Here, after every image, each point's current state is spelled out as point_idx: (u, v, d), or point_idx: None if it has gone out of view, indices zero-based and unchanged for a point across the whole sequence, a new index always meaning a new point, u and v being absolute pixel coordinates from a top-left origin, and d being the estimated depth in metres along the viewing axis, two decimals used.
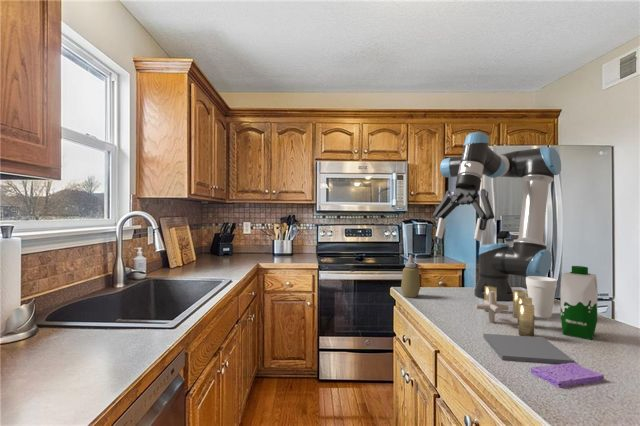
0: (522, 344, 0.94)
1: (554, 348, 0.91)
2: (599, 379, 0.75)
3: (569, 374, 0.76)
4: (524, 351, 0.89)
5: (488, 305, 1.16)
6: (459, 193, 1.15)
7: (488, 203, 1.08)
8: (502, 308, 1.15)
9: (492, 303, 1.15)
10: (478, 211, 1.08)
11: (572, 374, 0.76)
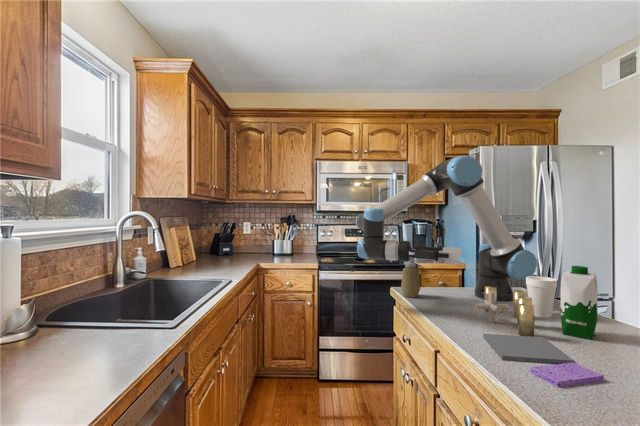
0: (522, 344, 0.94)
1: (554, 348, 0.91)
2: (599, 379, 0.75)
3: (568, 374, 0.76)
4: (524, 351, 0.89)
5: (488, 305, 1.16)
6: None
7: (421, 254, 1.18)
8: (502, 308, 1.15)
9: (492, 303, 1.15)
10: None
11: (572, 374, 0.76)
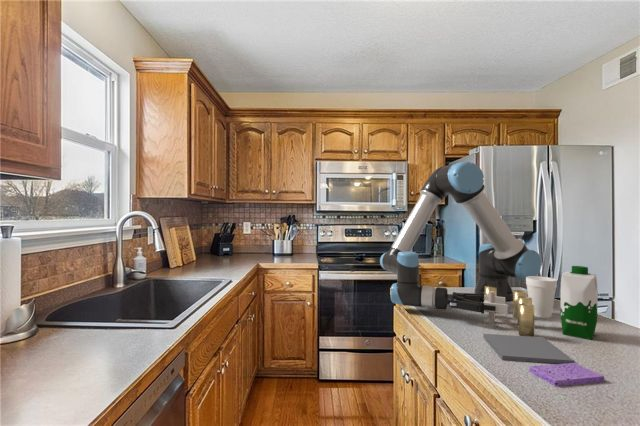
0: (522, 344, 0.94)
1: (554, 348, 0.91)
2: (599, 380, 0.75)
3: (568, 373, 0.76)
4: (524, 351, 0.89)
5: None
6: None
7: (465, 306, 1.13)
8: None
9: None
10: None
11: (571, 374, 0.76)
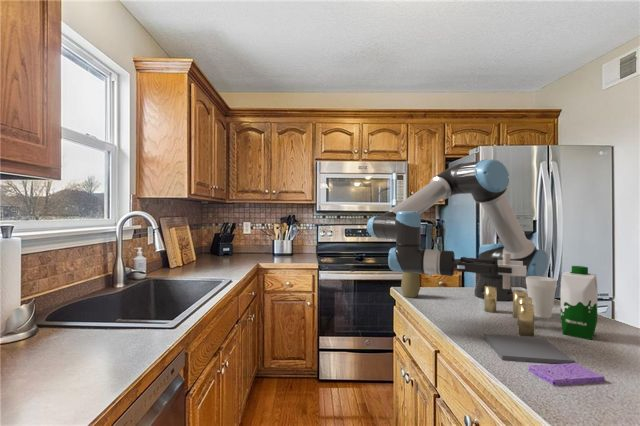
0: (522, 344, 0.94)
1: (554, 348, 0.91)
2: (599, 380, 0.75)
3: (567, 373, 0.76)
4: (524, 351, 0.89)
5: None
6: None
7: (475, 268, 0.95)
8: None
9: None
10: None
11: (570, 373, 0.76)
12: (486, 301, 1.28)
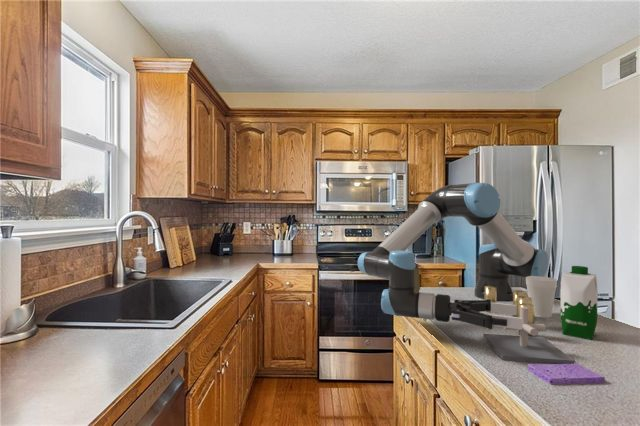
0: None
1: (554, 348, 0.91)
2: (599, 380, 0.75)
3: (566, 373, 0.76)
4: (524, 351, 0.89)
5: None
6: None
7: (469, 319, 0.90)
8: (538, 329, 0.92)
9: (525, 322, 0.92)
10: None
11: (569, 373, 0.76)
12: None
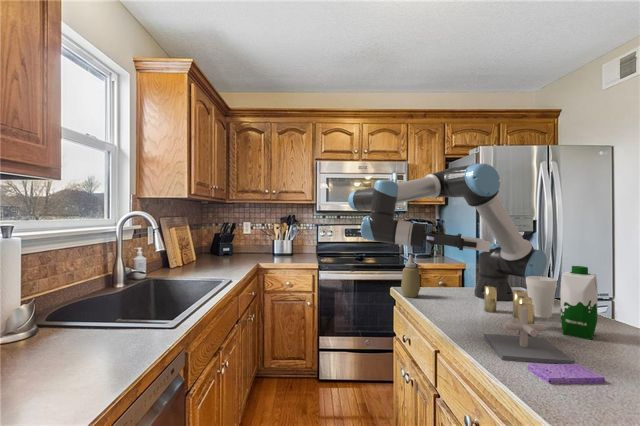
0: None
1: (554, 348, 0.91)
2: (599, 381, 0.74)
3: (565, 373, 0.76)
4: (524, 351, 0.89)
5: (520, 325, 0.92)
6: None
7: (443, 240, 0.97)
8: (537, 329, 0.91)
9: (525, 323, 0.92)
10: None
11: (569, 373, 0.76)
12: (486, 301, 1.28)
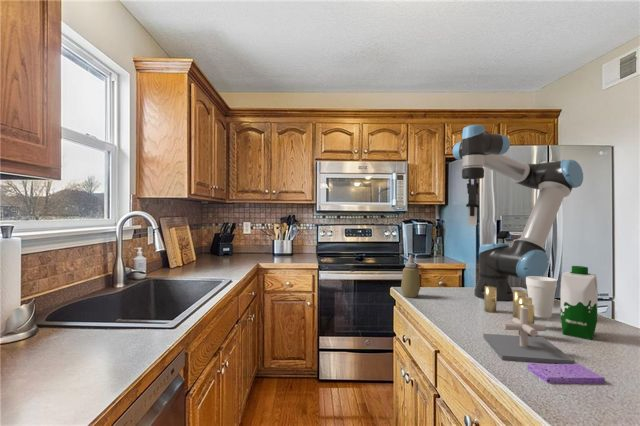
0: None
1: (554, 348, 0.91)
2: (599, 381, 0.74)
3: (565, 372, 0.77)
4: (524, 351, 0.89)
5: (520, 325, 0.92)
6: None
7: (472, 191, 1.22)
8: (537, 329, 0.91)
9: (525, 322, 0.92)
10: None
11: (568, 373, 0.76)
12: (486, 301, 1.28)
